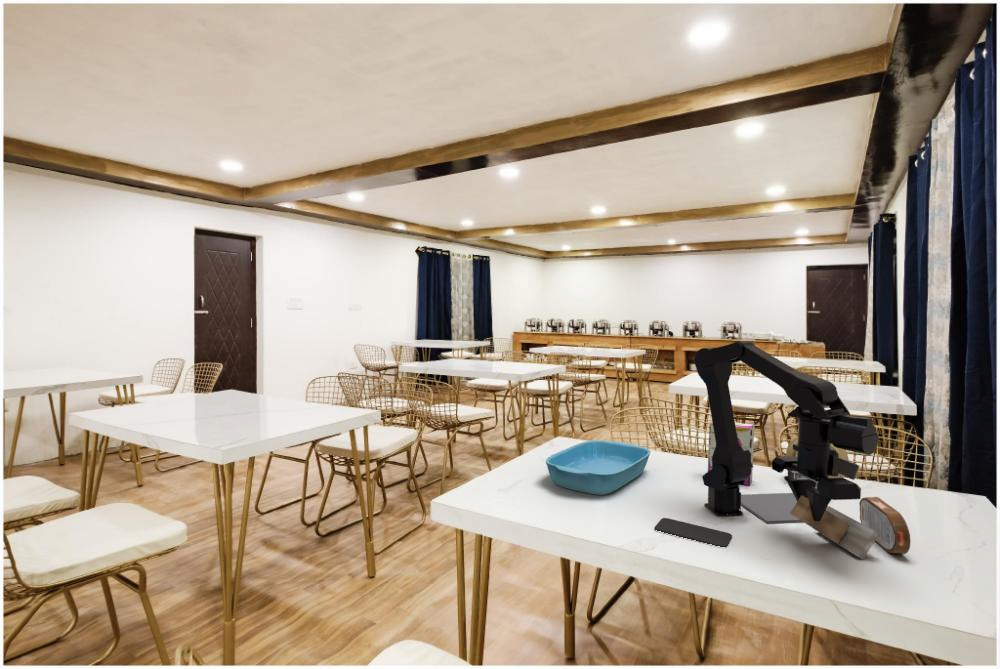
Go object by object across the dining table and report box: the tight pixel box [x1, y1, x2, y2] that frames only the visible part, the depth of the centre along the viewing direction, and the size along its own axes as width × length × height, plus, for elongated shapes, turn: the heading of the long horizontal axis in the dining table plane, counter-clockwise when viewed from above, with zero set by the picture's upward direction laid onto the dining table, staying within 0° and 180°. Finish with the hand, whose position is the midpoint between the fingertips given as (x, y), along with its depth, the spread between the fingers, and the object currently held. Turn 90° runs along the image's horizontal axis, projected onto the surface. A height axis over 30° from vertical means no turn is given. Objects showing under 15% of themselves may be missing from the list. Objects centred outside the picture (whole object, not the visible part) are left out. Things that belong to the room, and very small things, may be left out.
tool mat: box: [741, 492, 829, 525], centre depth 124 cm, size 20×16×1 cm
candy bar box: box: [707, 420, 755, 487], centre depth 143 cm, size 11×5×16 cm, turn 58°
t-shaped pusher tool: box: [790, 495, 879, 561], centre depth 104 cm, size 12×12×6 cm
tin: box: [859, 496, 912, 555], centre depth 106 cm, size 15×3×8 cm, turn 168°
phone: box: [654, 517, 733, 548], centre depth 111 cm, size 7×1×15 cm
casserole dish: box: [545, 439, 651, 496], centre depth 146 cm, size 37×22×7 cm, turn 143°
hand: (811, 517), depth 104 cm, fingers closed on t-shaped pusher tool, 3 cm apart
